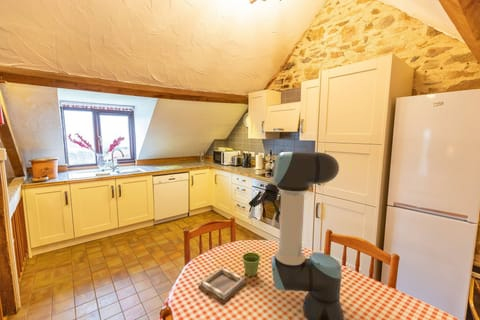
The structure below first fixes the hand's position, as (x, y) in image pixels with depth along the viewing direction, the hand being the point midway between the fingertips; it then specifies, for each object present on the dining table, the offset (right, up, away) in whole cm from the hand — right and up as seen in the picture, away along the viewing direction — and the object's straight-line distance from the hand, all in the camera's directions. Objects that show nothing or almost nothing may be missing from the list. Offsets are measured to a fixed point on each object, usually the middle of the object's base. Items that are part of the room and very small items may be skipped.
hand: (260, 221), depth 118 cm
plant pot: (-5, -26, -2) cm, 26 cm away
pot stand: (-19, -27, -12) cm, 35 cm away
